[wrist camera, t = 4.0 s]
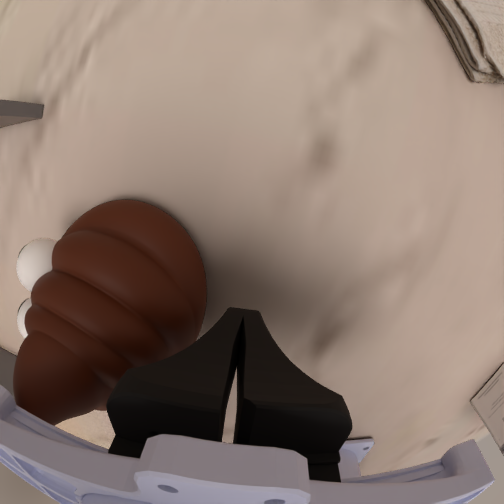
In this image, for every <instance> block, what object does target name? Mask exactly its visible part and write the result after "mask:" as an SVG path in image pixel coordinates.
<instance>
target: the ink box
mask: <svg viewBox="0 0 504 504" xmlns="http://www.w3.org/2000/svg"><path fill="white" fill-rule="evenodd" d="M470 403H471V404H472V406H473V408H474V409H475V411H476V412H477V414H478V415H479V417H480V418H481V420H482V421H483V423H484V424H485V426H486V427H487V429H488V431H489V432H490V434H491V435H492V437H493V439H494V440H495V442H496V444H497V445H498V447H499V449H500V450H501V452H502V454H503V456H504V363H503V365H502V366H501V367H500V368H499V370H498V371H497V372H496V373H495V374H494V376H493V377H492V378H491V379H490V380H489V381H488V383H487V384H486V385H485V386H484V387H483V388H482V389H481V390H480V391H479V393H478V394H477V395H476V396H475V397H474V398H473V399H472V400H471V401H470Z"/></svg>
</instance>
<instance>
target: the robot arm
mask: <svg viewBox="0 0 504 504" xmlns="http://www.w3.org/2000/svg"><path fill="white" fill-rule="evenodd" d="M236 368H237V414H236V423H235V431H234V440H233V444H231V443H223V442H222V436H223V428H224V421H225V414H226V408H227V403H228V399H229V395H230V391H231V388H232V384H233V380H234V376H235V372H236ZM106 408H107V413H108V416H109V418H110V421H111V424H112V427H113V429H114V432H115V434H116V435H115V437H114V440H113V442H112V444H111V446H110V448H109V449H106V448H103V447H101V446H98V445H95V444H93V443H90V442H88V441H86V440H83V439H81V438H79V437H76V436H74V435H72V434H70V433H67V432H65V431H63V430H61V429H59V428H57V427H55V426H53V425H51V424H49V423H47V422H45V421H43V420H42V419H40V418H38V417H36V416H34V415H32V414H31V413H29V412H27V411H26V410H24V409H22V408H21V407H19V406H17V405H16V402H15V400H14V398H13V396H12V395H11V393H10V392H9V391H8V390H7V389H6V388H5V387H3V386H2V385H0V462H1V463H3V464H4V465H5V466H6V467H8V468H9V469H10V470H11V471H13V472H14V473H15V474H17V475H18V476H20V477H21V478H22V479H24V480H25V481H26V482H28V483H29V484H31V485H32V486H34V487H35V488H37V489H38V490H40V491H41V492H43V493H44V494H46V495H47V496H49V497H50V498H52V499H54V500H56V501H57V502H59V503H60V504H467V503H469V502H470V501H471V500H473V499H474V498H475V497H476V496H478V495H479V494H480V493H481V492H483V491H484V490H485V489H486V488H488V487H489V486H490V485H491V484H492V483H494V481H495V479H494V477H493V475H492V473H491V471H490V469H489V467H488V465H487V463H486V461H485V459H484V457H483V455H482V453H481V451H480V449H479V448H478V446H477V444H476V442H475V440H474V439H471V440H469V441H466V442H463V443H460V444H457V445H455V446H453V447H452V448H450V449H449V450H448V451H447V452H446V453H445V454H444V455H443V456H442V458H441V459H438V460H435V461H431V462H428V463H424V464H421V465H417V466H413V467H409V468H404V469H400V470H395V471H390V472H385V473H380V474H374V475H367V476H361V472H360V468H359V463H360V462H361V461H362V459H363V458H364V457H365V455H366V454H367V453H368V452H369V450H370V449H371V448H372V446H373V445H374V440H373V439H361V440H349V441H346V440H347V438H348V436H349V435H350V432H351V430H352V420H351V417H350V413H349V410H348V408H347V406H346V404H345V401H344V399H343V397H342V396H341V395H339V394H337V393H335V392H333V391H332V390H330V389H328V388H326V387H324V386H322V385H321V384H319V383H317V382H316V381H314V380H313V379H311V378H310V377H309V376H307V375H306V374H305V373H303V372H302V371H301V370H300V369H299V368H298V367H296V366H295V365H294V364H293V363H292V362H291V361H290V360H289V359H288V358H287V357H286V356H285V354H284V353H283V352H282V351H281V349H280V348H279V347H278V345H277V344H276V342H275V341H274V339H273V338H272V336H271V334H270V333H269V331H268V329H267V327H266V325H265V323H264V321H263V319H262V316H261V313H260V312H259V311H256V310H248V309H240V308H232V307H230V308H228V309H227V311H226V312H225V313H224V315H223V316H222V317H221V318H220V320H219V321H218V322H217V323H216V324H215V325H214V326H213V327H212V328H211V329H210V330H209V331H208V332H207V333H205V334H204V335H203V336H202V337H201V338H200V339H198V340H197V341H196V342H194V343H193V344H192V345H190V346H189V347H187V348H185V349H184V350H182V351H180V352H178V353H176V354H174V355H172V356H170V357H168V358H165V359H163V360H160V361H157V362H154V363H151V364H148V365H144V366H140V367H135V368H131V369H128V370H127V371H126V372H125V374H124V375H123V376H122V377H121V378H120V380H119V381H118V383H117V384H116V386H115V387H114V389H113V391H112V393H111V394H110V396H109V398H108V400H107V403H106Z"/></svg>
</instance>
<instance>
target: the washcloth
mask: <svg viewBox="0 0 504 504" xmlns="http://www.w3.org/2000/svg"><path fill="white" fill-rule="evenodd" d="M425 1H426V2H427V4H428V5H429V6H430V8H431V9H432V11H433V12H434V14H435V16H436V18H437V19H438V21H439V23H440V24H441V26H442V28H443V30H444V32H445V33H446V35H447V37H448V38H449V40H450V42H451V44H452V46H453V48H454V50H455V51H456V53H457V56H458V57H459V59H460V61H461V63H462V65H463V67H464V69H465V70H466V72H467V74H468V75H469V77H470V79H471V80H473V81H475V82H476V83H477V82H480V83H486V82H488V83H491V84H492V83H494V82H496V83H499V82H501V83H504V0H425Z"/></svg>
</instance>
